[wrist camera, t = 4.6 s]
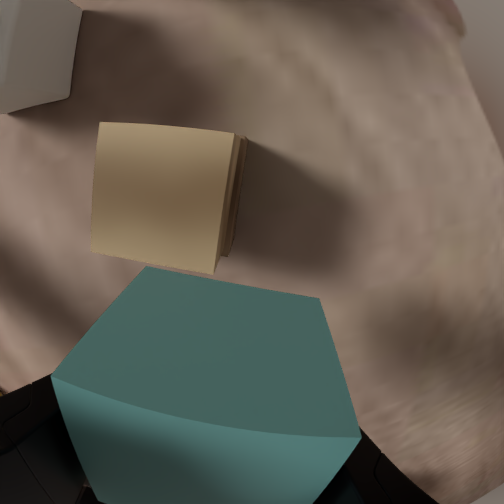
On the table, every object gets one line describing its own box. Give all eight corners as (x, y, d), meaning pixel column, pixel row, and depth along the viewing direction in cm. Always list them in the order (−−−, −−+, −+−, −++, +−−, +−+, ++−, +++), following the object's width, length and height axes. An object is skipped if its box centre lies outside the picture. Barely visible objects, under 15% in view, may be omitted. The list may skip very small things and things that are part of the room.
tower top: (223, 248, 16) (213, 274, 12) (122, 231, 16) (90, 251, 12) (240, 138, 14) (234, 133, 11) (132, 126, 14) (99, 121, 11)
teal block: (279, 416, 10) (282, 536, 6) (145, 390, 10) (97, 500, 6) (319, 298, 9) (361, 437, 4) (146, 266, 9) (50, 376, 4)
